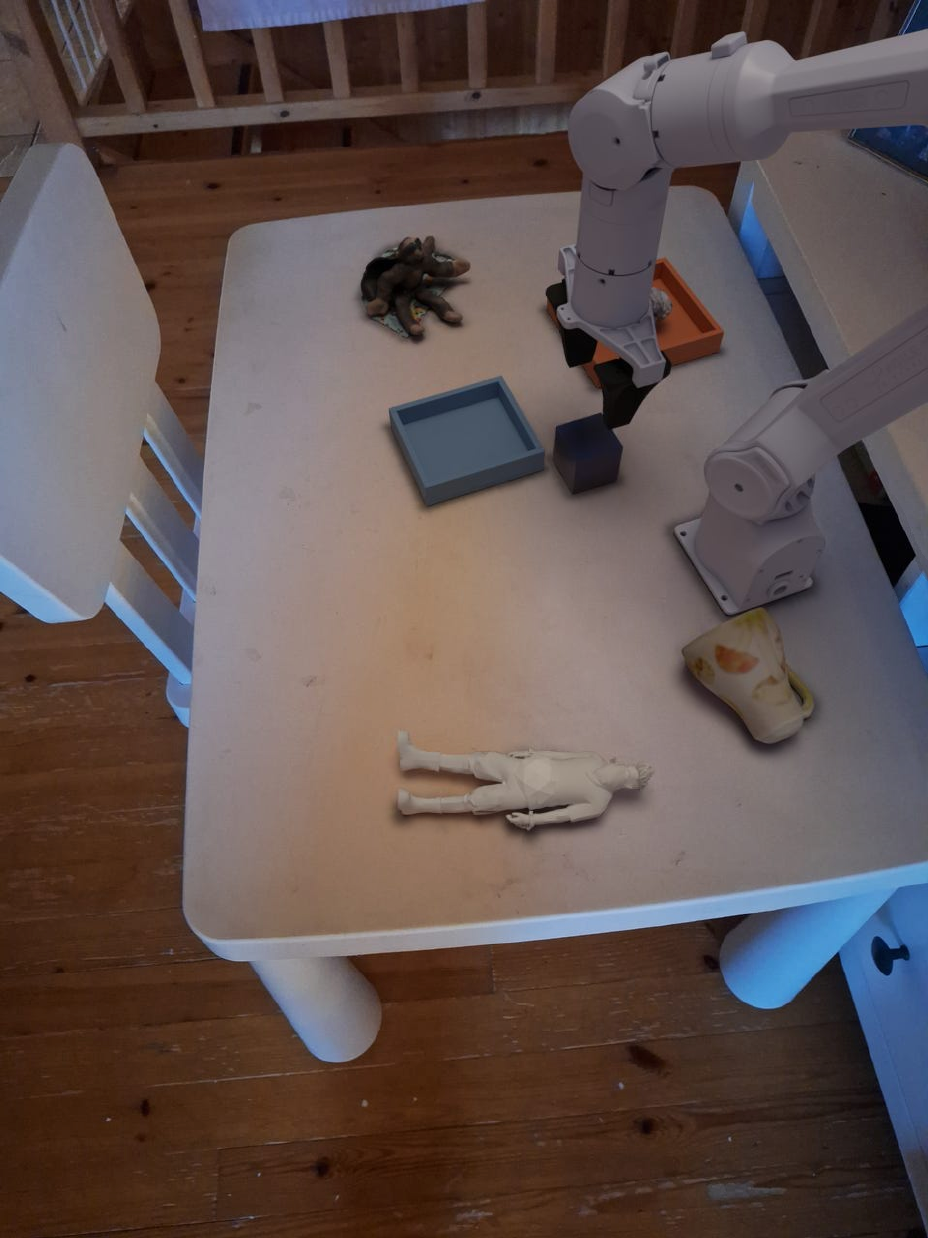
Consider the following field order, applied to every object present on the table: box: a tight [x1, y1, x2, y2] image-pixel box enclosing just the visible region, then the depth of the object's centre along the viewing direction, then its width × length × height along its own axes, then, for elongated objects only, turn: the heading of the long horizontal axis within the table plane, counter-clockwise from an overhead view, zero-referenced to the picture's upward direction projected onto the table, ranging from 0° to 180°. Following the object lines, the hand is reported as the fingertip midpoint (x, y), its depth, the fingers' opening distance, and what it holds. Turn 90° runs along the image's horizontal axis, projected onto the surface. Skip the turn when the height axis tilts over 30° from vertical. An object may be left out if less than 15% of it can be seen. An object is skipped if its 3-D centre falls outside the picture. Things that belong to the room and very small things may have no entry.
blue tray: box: [388, 375, 546, 507], centre depth 82 cm, size 10×11×2 cm
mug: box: [680, 606, 815, 744], centre depth 67 cm, size 8×10×10 cm
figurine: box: [396, 729, 656, 831], centre depth 64 cm, size 7×4×18 cm
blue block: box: [552, 411, 624, 495], centre depth 79 cm, size 4×4×4 cm
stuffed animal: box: [360, 235, 471, 338], centre depth 94 cm, size 12×10×12 cm
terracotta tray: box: [546, 256, 725, 389], centre depth 90 cm, size 12×13×2 cm
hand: (597, 392), depth 75 cm, fingers open, 7 cm apart
